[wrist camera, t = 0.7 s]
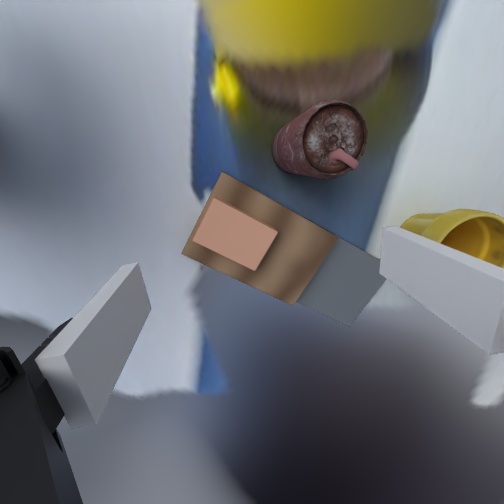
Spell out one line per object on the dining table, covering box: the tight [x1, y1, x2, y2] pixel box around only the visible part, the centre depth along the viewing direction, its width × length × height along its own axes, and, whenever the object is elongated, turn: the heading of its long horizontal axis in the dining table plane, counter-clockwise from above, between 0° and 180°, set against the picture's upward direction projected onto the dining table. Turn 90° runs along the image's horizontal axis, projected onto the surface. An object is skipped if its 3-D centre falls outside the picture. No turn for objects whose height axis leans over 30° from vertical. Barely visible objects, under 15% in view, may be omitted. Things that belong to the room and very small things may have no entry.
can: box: [272, 100, 367, 179], centre depth 27 cm, size 6×6×14 cm
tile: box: [192, 196, 278, 271], centre depth 33 cm, size 9×6×2 cm, turn 61°
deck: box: [181, 171, 338, 306], centre depth 36 cm, size 18×12×2 cm, turn 61°
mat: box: [296, 233, 386, 326], centre depth 41 cm, size 12×12×1 cm
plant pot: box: [400, 209, 504, 269], centre depth 35 cm, size 10×10×10 cm
